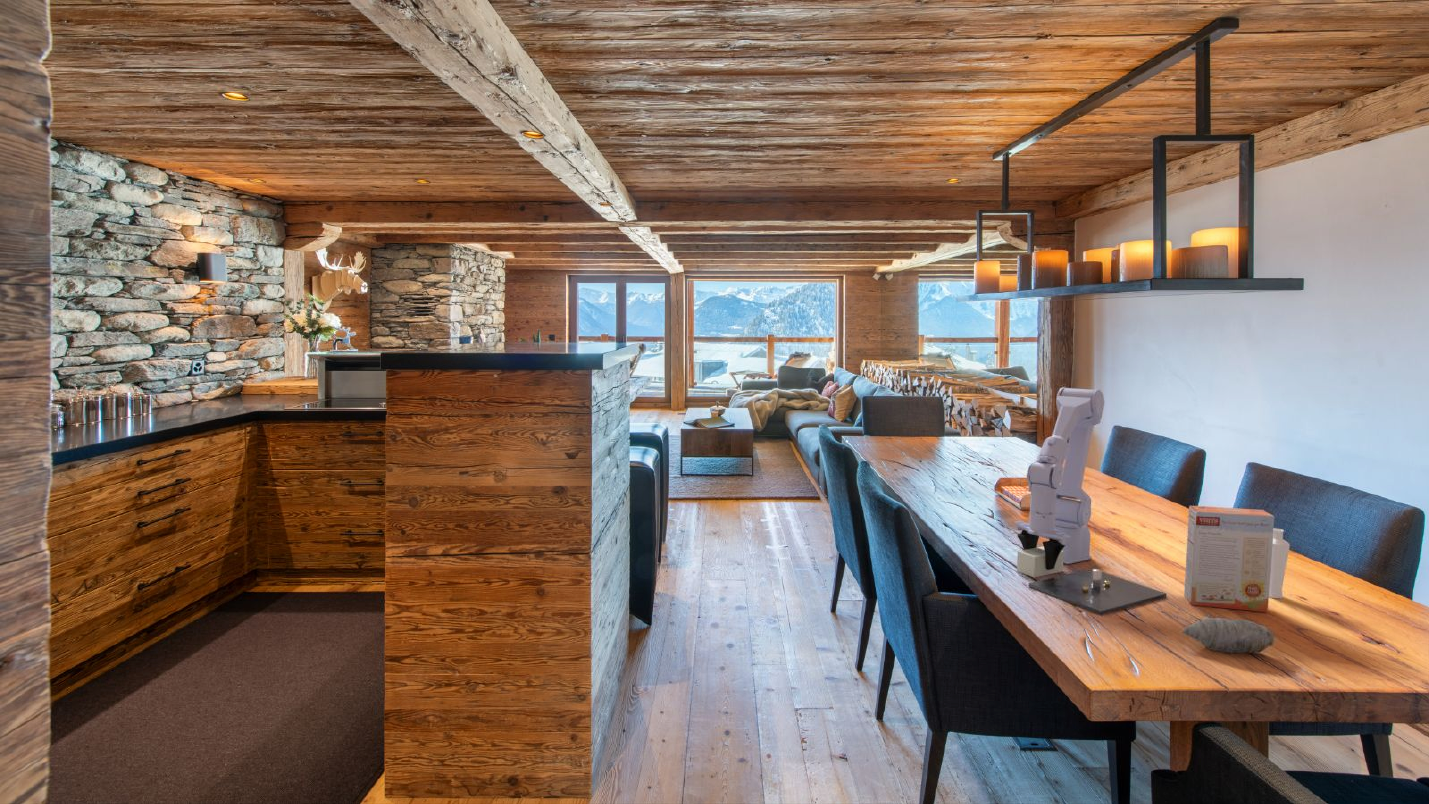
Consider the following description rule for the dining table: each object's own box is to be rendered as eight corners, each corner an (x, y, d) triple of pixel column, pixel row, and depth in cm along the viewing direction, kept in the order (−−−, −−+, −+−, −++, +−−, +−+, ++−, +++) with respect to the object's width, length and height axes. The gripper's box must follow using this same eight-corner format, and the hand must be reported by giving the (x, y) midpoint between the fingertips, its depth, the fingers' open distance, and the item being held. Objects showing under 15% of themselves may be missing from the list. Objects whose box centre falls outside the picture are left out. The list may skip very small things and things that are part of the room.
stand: (1092, 571, 173) (1093, 551, 172) (1166, 597, 157) (1167, 575, 156) (1028, 586, 163) (1029, 565, 163) (1100, 615, 147) (1101, 591, 147)
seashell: (1174, 623, 137) (1198, 591, 133) (1247, 656, 134) (1273, 625, 131) (1182, 643, 131) (1207, 610, 128) (1259, 678, 128) (1287, 646, 125)
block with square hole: (1045, 564, 178) (1046, 545, 177) (1062, 571, 174) (1063, 551, 173) (1016, 571, 174) (1017, 551, 173) (1034, 577, 169) (1034, 557, 169)
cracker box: (1257, 603, 153) (1265, 508, 151) (1268, 614, 148) (1276, 516, 145) (1182, 595, 158) (1188, 503, 156) (1190, 605, 152) (1197, 510, 150)
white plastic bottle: (1279, 600, 154) (1285, 534, 153) (1256, 594, 158) (1262, 528, 157) (1290, 597, 156) (1296, 531, 155) (1267, 590, 160) (1272, 526, 159)
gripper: (1006, 506, 177) (1004, 559, 178) (1057, 520, 164) (1054, 577, 165) (1026, 503, 180) (1024, 555, 181) (1077, 517, 167) (1074, 572, 168)
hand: (1040, 565), depth 173 cm, fingers closed on block with square hole, 5 cm apart
